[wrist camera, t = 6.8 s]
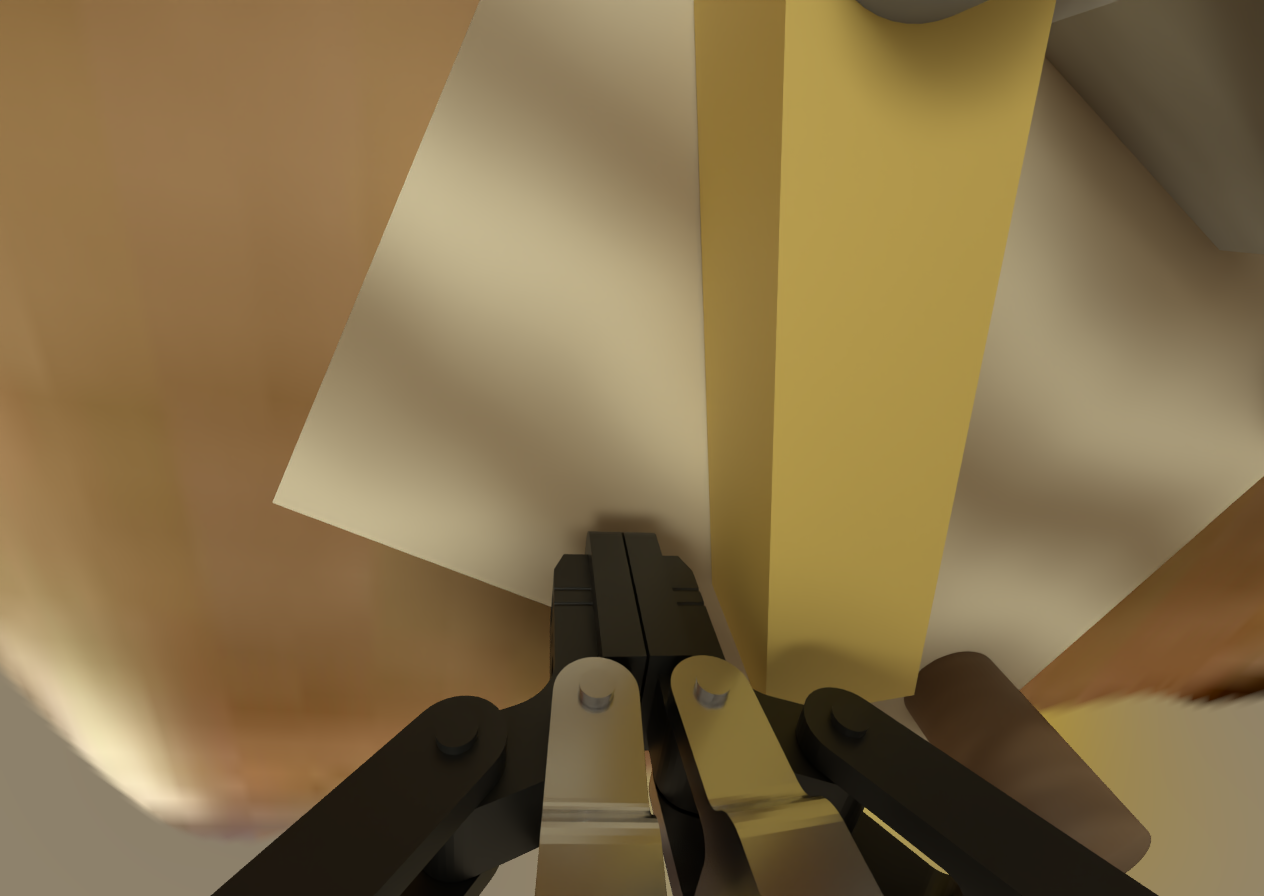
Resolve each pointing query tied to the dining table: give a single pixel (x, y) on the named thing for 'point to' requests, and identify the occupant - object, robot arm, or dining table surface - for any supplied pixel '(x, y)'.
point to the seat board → (675, 350)
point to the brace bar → (849, 309)
